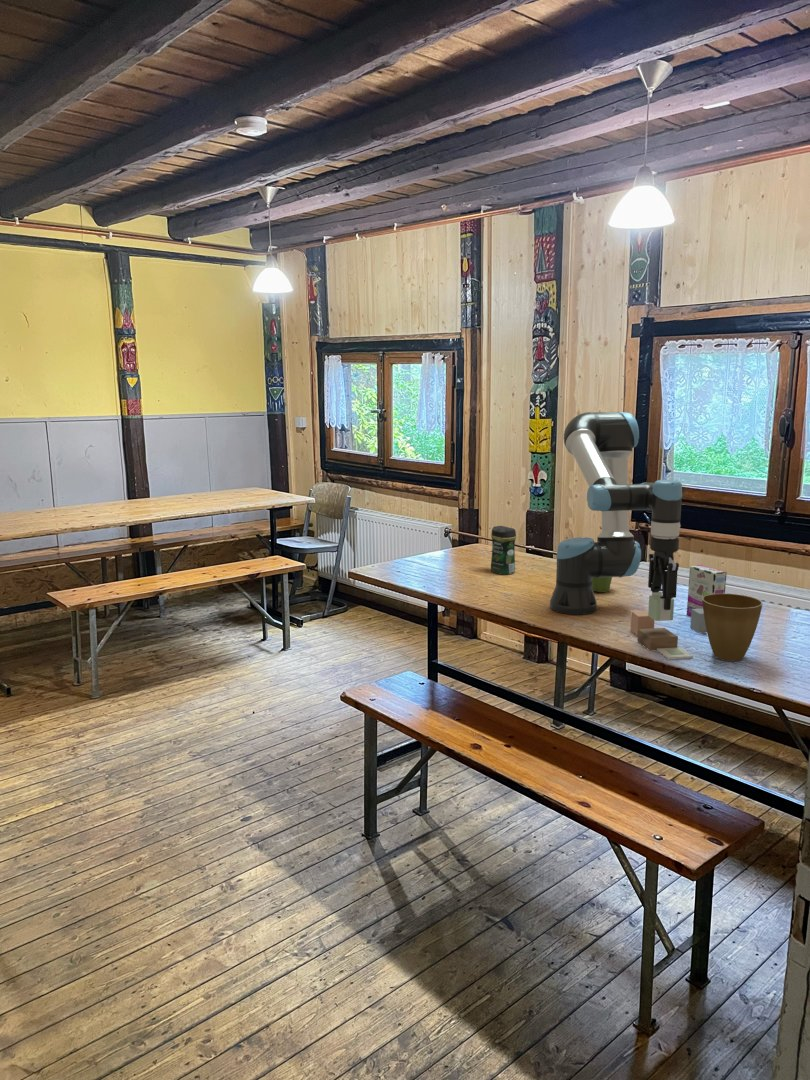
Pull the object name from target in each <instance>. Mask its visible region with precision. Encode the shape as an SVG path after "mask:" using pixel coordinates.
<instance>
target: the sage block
mask: <svg viewBox="0 0 810 1080" xmlns="http://www.w3.org/2000/svg"><path fill="white" fill-rule="evenodd" d="M660 596H663V594H662V595H652V594H651V595H649V596H648V610H647V611H648V616H649V617H651V618H652V619H654V622H660V603H661V598H660ZM674 610H675V598H671V611H670V620H669V621H674Z"/></svg>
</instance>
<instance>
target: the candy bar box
mask: <svg viewBox="0 0 810 1080" xmlns="http://www.w3.org/2000/svg"><path fill="white" fill-rule="evenodd" d="M726 583H727V571H723V570H720V569H716V568H714V567H708V566H706V565H702V564H700V565H699V564H698V565H690V566H689V578H688V590H687V591H688V592H687V603H686V604H687V605H686V616H687V615H688V617H690V618H691V611H692V609H703V602H702V598H703V597H704V596H706V595H710V594H726V585H727V584H726Z"/></svg>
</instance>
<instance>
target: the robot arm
mask: <svg viewBox="0 0 810 1080" xmlns="http://www.w3.org/2000/svg"><path fill="white" fill-rule="evenodd" d="M639 439H640V429H639V425H638V421H637V419H636V418H635V416H634V415H633V414H632V413H630V412H622V411H607V412H606V411H603V412H602V411H601V412H591V411H589V412H588V411H587V412H583V413H579V414H578V415H576V416H575V417H573V418H572V419H571V420H570V421H569V422H568V423H567V425H566V426H565V429H564V431H563V444H564V447H565V449H566V451H567V452H568V453H569V454H570V455H573V457H574V459H575V461H576V463H577V466H578V468H579V469H580V472H581V473H582V475H583V478H584V479H585V482H586V483H587V485H588V488H587V491H586V501H587V502H586V503H587V506H588V509H590V510H591V511H594V512H595V511H597V512H599V511H600V512H601V532H600V533H599V534H598V535H597V536H596V538H597V539H596V540H597V541H594V538H591V537H589V536H588V537H586V536H585V537H581V536H580V537H571V538H566V539H564V540H561V542H559V543H558V545H557V551H556V577H555V579H556V580H555V587H554V588H553V592H552V596H551V597H550V600H549V608H550V609H551V611H554V612H557V613H560V614H566V615H574V616H575V615H577V616H578V615H579V616H581V615H588V614H593V613H595V612H596V611H597V607H598V605H597V604H598V603H597V600H596V596H595V593H594V592H595V591H593V589H592V578H596V577H612V578H623V577H631V576H633V575H635V574H636V572H638V570H639V568H640V565H641V564H640V563H641V561H642V560H641V559H642V549H641V546H640V543H639V542H638V541H636V540H634V539H635V536H634V535H633V533H631V532H630V526H629V525H630V522H629V518H630V516H629V511H651V519H650V520H651V521H650V523H651V524H650V535H651V537H650V539H649V540H650V543H649V548H650V550H651V551H654V553H649V554H648V561H649V565H648V566H649V567H648V581H647V583H648V584H647V587H648V588H649V589H650V591H651V596H652V595H663V596H660V598H661V603H660V621H661V622H666V621H668V622H669V621H671V620H670V611H671V598H672V599H675V598H676V597H677V585H678V571H679V566H680V564H679V563H678V562H675V559H674V558H675V557H674V553H677V552H678V551H679V547H680V538H679V536H680V530H681V529H680V528H681V527H682V525H681V517H682V516H681V515H682V513H681V512H682V501H683V484H682V482H680V481H678V480H672V479H657V480H656V481H654V482H645V481H644V482H642V483H634V484H633V483H632V484H631V483H630V484H629V466H628V465H629V464H628V463H629V462H628V461H629V456H631V455H632V453H633V449H634V448H636V447H637V445H638V443H639ZM660 621H659V622H660Z"/></svg>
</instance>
